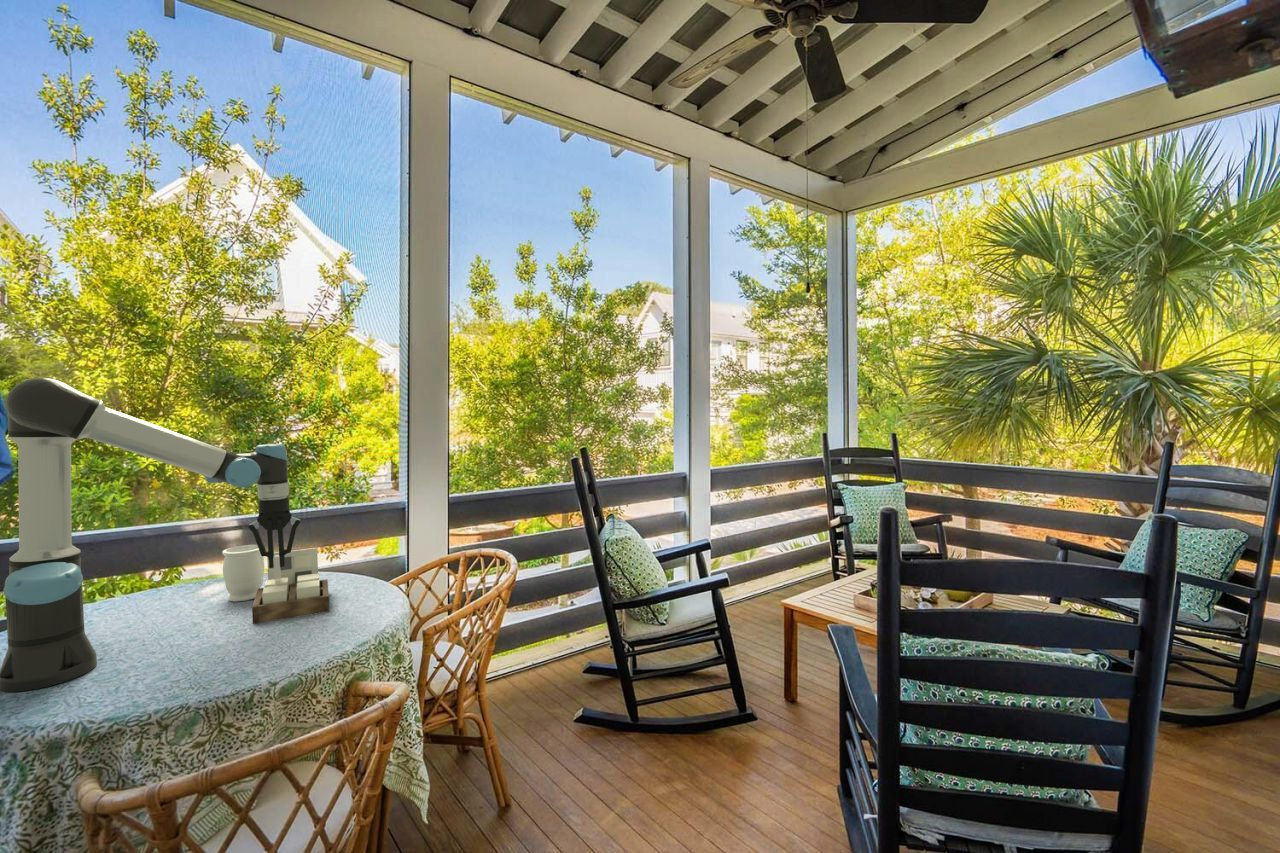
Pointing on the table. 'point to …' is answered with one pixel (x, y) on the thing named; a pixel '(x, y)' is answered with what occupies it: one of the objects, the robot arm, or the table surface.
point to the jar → (243, 571)
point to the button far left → (277, 583)
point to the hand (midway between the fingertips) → (277, 578)
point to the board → (290, 605)
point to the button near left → (275, 594)
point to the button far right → (308, 578)
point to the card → (297, 564)
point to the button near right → (308, 589)
